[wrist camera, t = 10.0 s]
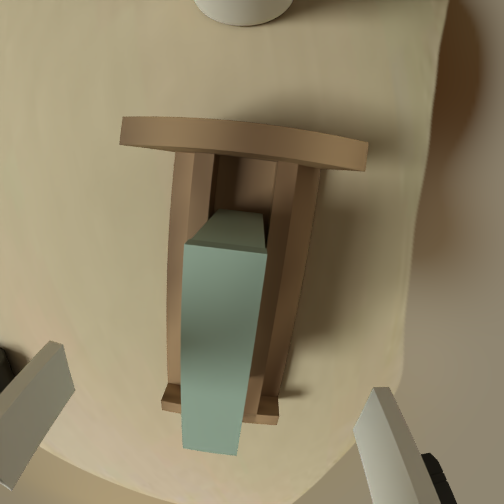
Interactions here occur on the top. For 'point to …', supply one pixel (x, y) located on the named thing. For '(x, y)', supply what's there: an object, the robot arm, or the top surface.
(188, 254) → the door panel
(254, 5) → the pill bottle
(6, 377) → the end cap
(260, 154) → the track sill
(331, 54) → the top surface
